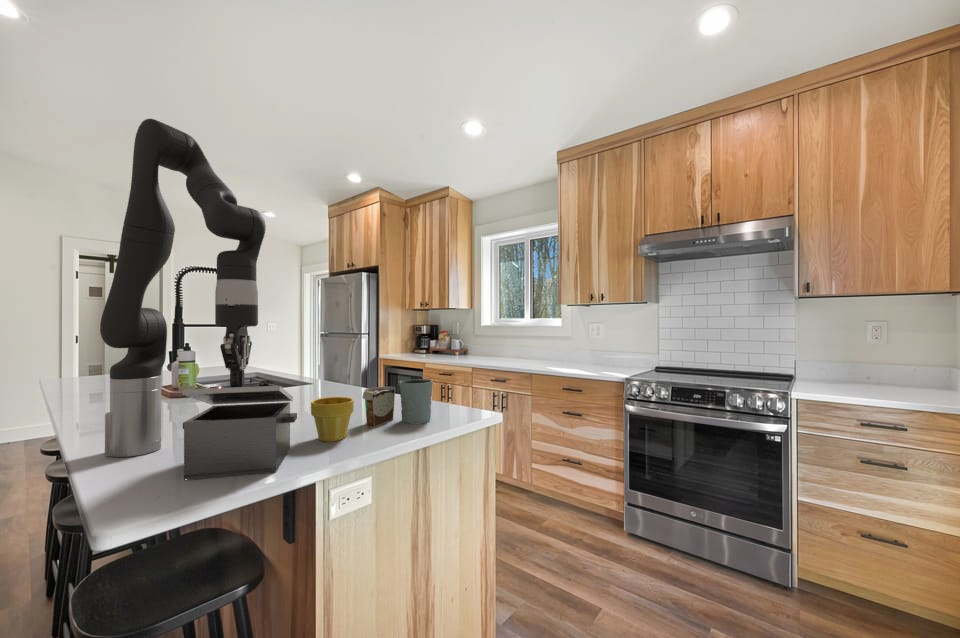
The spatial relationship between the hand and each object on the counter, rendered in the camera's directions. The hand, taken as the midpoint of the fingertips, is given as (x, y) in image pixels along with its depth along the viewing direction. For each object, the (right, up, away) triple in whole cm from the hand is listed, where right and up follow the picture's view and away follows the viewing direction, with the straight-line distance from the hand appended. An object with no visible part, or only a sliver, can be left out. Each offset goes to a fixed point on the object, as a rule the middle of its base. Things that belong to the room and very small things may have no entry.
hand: (237, 388), depth 85 cm
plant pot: (+11, -17, +23) cm, 31 cm away
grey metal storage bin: (-1, -17, +4) cm, 17 cm away
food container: (+18, -17, +40) cm, 47 cm away
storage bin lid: (-1, -3, +5) cm, 6 cm away
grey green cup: (+30, -17, +43) cm, 55 cm away
